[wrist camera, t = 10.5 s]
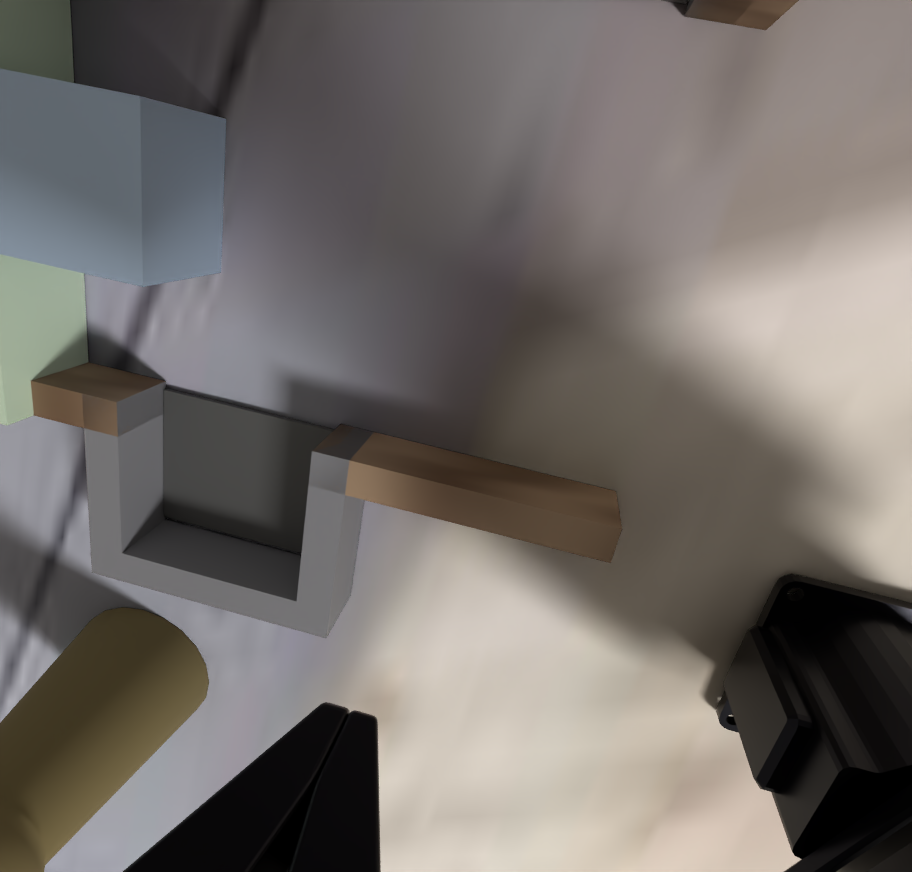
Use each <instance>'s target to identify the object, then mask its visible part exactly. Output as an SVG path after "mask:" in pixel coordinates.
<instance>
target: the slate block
mask: <svg viewBox="0 0 912 872" xmlns="http://www.w3.org/2000/svg"><path fill="white" fill-rule="evenodd" d="M225 141H226V119H225V118H221V117H217V116H213V115H210V114H206V113H202V112H198V111H195V110H191V109H187V108H183V107H179V106H176V105H172V104H168V103H164V102H161V101H157V100H153V99H149V98H145V97H142V96H137V95H132V94H127V93H122V92H117V91H112V90H107V89H102V88H97V87H92V86H86V85H81V84H76V83H71V82H66V81H61V80H56V79H51V78H46V77H41V76H36V75H31V74H26V73H21V72H16V71H11V70H5V69H0V254H1V255H5V256H10V257H14V258H19V259H23V260H27V261H32V262H36V263H40V264H45V265H49V266H54V267H58V268H62V269H67V270H71V271H75V272H80V273H84V274H89V275H93V276H97V277H102V278H106V279H110V280H115V281H119V282H124V283H128V284H132V285H137V286H141V287H145V286H151V285H156V284H162V283H167V282H172V281H178V280H183V279H189V278H194V277H200V276H205V275H210V274H216V273H221V257H222V228H223V199H224V170H225Z"/></svg>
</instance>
